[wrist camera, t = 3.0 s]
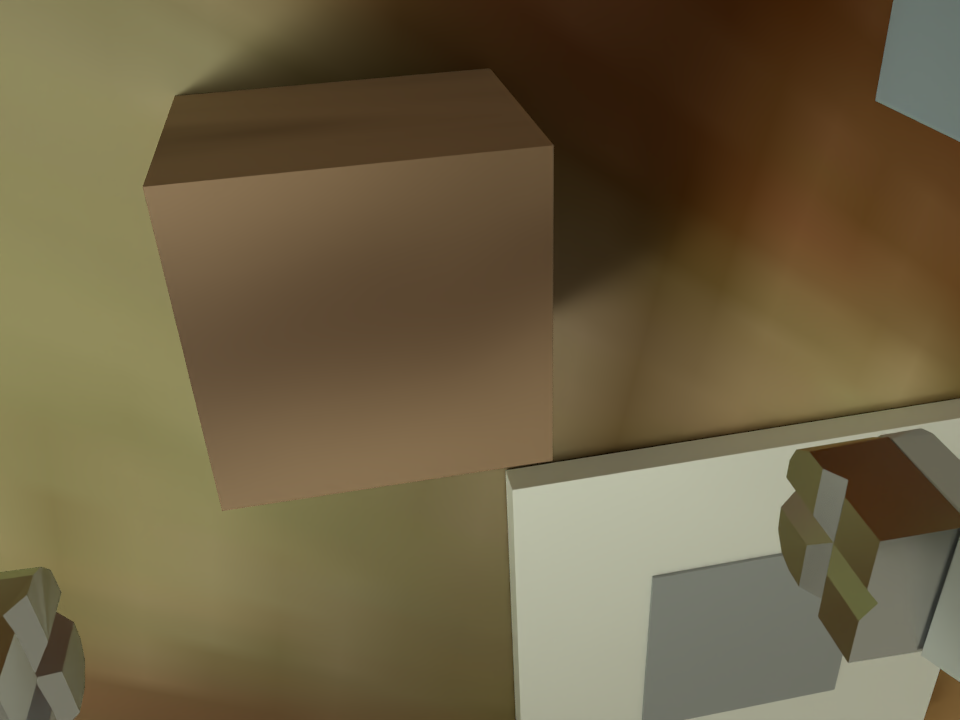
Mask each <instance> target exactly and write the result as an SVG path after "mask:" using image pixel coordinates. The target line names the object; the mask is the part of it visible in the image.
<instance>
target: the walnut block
mask: <svg viewBox="0 0 960 720" xmlns="http://www.w3.org/2000/svg"><path fill="white" fill-rule="evenodd" d="M143 190H144V194H145V198H146V202H147V206H148V210H149V215H150V219H151V223H152V227H153V231H154V235H155V239H156V243H157V247H158V251H159V255H160V259H161V263H162V268H163V272H164V276H165V280H166V284H167V288H168V292H169V296H170V300H171V304H172V308H173V312H174V316H175V321H176V325H177V329H178V333H179V337H180V341H181V345H182V349H183V353H184V357H185V361H186V365H187V369H188V374H189V378H190V382H191V386H192V390H193V394H194V398H195V402H196V406H197V410H198V414H199V418H200V422H201V426H202V431H203V435H204V439H205V443H206V447H207V451H208V455H209V459H210V463H211V467H212V471H213V475H214V479H215V484H216V488H217V492H218V496H219V500H220V504H221V508H222V511H224V510H231V509H238V508H244V507H251V506H257V505H264V504H271V503H277V502H284V501H290V500H297V499H304V498H310V497H317V496H323V495H330V494H337V493H343V492H350V491H356V490H363V489H370V488H376V487H383V486H389V485H396V484H403V483H409V482H416V481H422V480H429V479H436V478H442V477H449V476H455V475H462V474H469V473H475V472H482V471H488V470H495V469H501V468H508V467H515V466H521V465H528V464H534V463H541V462H548V461H553V211H554V145H553V144H552V143H551V141H550V140H549V139H548V138H547V137H546V135H545V134H544V133H543V132H542V131H541V129H540V128H539V127H538V126H537V124H536V123H535V122H534V121H533V120H532V118H531V117H530V116H529V115H528V114H527V112H526V111H525V110H524V109H523V108H522V106H521V105H520V104H519V103H518V102H517V100H516V99H515V98H514V97H513V96H512V94H511V93H510V92H509V91H508V89H507V88H506V87H505V86H504V85H503V83H502V82H501V81H500V80H499V79H498V77H497V76H496V75H495V74H494V73H493V71H492V70H491V69H490V68H486V69H475V70H464V71H452V72H441V73H430V74H418V75H407V76H396V77H384V78H373V79H361V80H350V81H339V82H327V83H316V84H305V85H293V86H282V87H271V88H259V89H248V90H237V91H225V92H214V93H203V94H191V95H180V96H175V97H174V100H173V103H172V106H171V108H170V111H169V114H168V117H167V120H166V123H165V125H164V128H163V131H162V134H161V137H160V140H159V142H158V145H157V148H156V151H155V154H154V157H153V159H152V162H151V165H150V168H149V171H148V174H147V176H146V179H145V182H144V185H143Z"/></svg>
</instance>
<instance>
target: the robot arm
mask: <svg viewBox="0 0 960 720" xmlns="http://www.w3.org/2000/svg"><path fill="white" fill-rule="evenodd" d="M786 478H787V479H788V481H789V482H790V483H791V485H792V486H793V488H794V489H795V490H796V491H795V492H794V493H793V494H792V495H791V496H790V497H789V499H788V500H787V501H786V502H785V503H784V504H783V505H782V506H781V510H780V518H779V525H778V533H779V539H780V545H781V552H782V555H783V557H784V560H785V562H786V565H787V567H788V570H789V571H790V573H791V575H792V576H793V578H794V579H795V581H796V583H797V584H798V586H799V587H801V588H803V589H804V590H806V591H808V592H810V593H811V594H813V595H815V596H817V597H818V598H820V599H821V603H820V608H819V613H818V617H819V619H820V620H821V622H822V623H823V625H824V627H825V628H826V630H827V631H828V633H829V634H830V636H831V637H832V639H833V640H834V642H835V644H836V645H837V647H838V648H839V650H840V651H841V653H842V654H843V656H844V657H845V659H846V660H847V662H848V663H852V662H858V661H865V660H871V659H877V658H883V657H890V656H896V655H902V654H909V653H915V652H921V651H922V653H921V656H922V657H924V658H925V659H927V660H928V661H930V662H931V663H933V664H934V665H936V666H937V667H939V668H940V669H941V670H943V671H944V672H946V673H947V674H949V675H950V676H952V677H953V678H955V679H956V680H957V681H959V682H960V460H959V459H958V458H957V457H956V456H955V455H954V454H953V453H952V452H951V451H950V450H949V449H948V448H947V447H946V446H945V445H944V444H943V443H942V442H941V441H940V440H939V439H938V438H937V437H936V436H935V435H934V434H933V433H931V432H929V431H926V430H924V429H922V428H919V429H913V430H907V431H901V432H896V433H890V434H884V435H880V436H878V437H870V438H864V439H858V440H852V441H846V442H839V443H833V444H827V445H821V446H815V447H809V448H803V449H797V450H796V451H795V452H794V454H793V455H792V457H791V459H790V461H789V466H788V471H787V476H786ZM60 596H61V591H60V588H59V586H58V584H57V582H56V580H55V578H54V576H53V574H52V572H51V570H49V569H46V568H43V567H35V568H28V569H20V570H13V571H5V572H0V720H73V719H74V718H75V717H76V716H77V715H78V714H79V712H80V708H81V703H82V698H83V693H84V688H85V658H84V653H83V648H82V644H81V639H80V636H79V634H78V631H77V629H76V626H75V624H74V622H73V621H71V620H69V619H67V618H66V617H64V616H62V615H60V614H59V613H57V612H56V611H57V607H58V603H59V599H60Z"/></svg>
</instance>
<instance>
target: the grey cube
mask: <svg viewBox="0 0 960 720" xmlns="http://www.w3.org/2000/svg"><path fill="white" fill-rule="evenodd" d="M875 101H877V102H879V103H881V104H883V105H885V106H887V107H889V108H891V109H893V110H896V111H898V112H900V113H902V114H904V115H906V116H908V117H910V118H912V119H914V120H916V121H918V122H920V123H922V124H924V125H926V126H928V127H931V128H933V129H935V130H937V131H939V132H941V133H943V134H945V135H947V136H949V137H951V138H953V139H955V140H957V141H959V142H960V0H893V5H892V11H891V16H890V22H889V27H888V33H887V38H886V44H885V49H884V55H883V60H882V66H881V71H880V77H879V82H878V88H877V93H876V99H875Z"/></svg>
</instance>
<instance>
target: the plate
mask: <svg viewBox="0 0 960 720" xmlns="http://www.w3.org/2000/svg"><path fill="white" fill-rule="evenodd" d="M919 428H922V429H924V430H926V431H929V432H931V433H933V434H934V435H935V436H936V437H937V438H938V439H939V440H940V441H941V442H942V443H943V444H944V445H945V446H946V447H947V448H948V449H949V450H950V451H951V452H952V453H953V454H954V455H955V456H956V457H957V458H958V459H959V460H960V399H954V400H947V401H941V402H935V403H928V404H922V405H916V406H909V407H903V408H897V409H890V410H884V411H878V412H871V413H865V414H859V415H852V416H846V417H840V418H833V419H827V420H821V421H814V422H808V423H802V424H795V425H789V426H783V427H776V428H770V429H764V430H757V431H751V432H745V433H738V434H732V435H726V436H719V437H713V438H707V439H700V440H694V441H688V442H681V443H675V444H669V445H662V446H656V447H650V448H643V449H637V450H631V451H624V452H618V453H612V454H605V455H599V456H593V457H586V458H580V459H574V460H567V461H561V462H555V463H548V464H542V465H536V466H529V467H523V468H517V469H510V470H506V493H507V518H508V542H509V567H510V592H511V616H512V641H513V665H514V690H515V714H516V720H924V717H925V714H926V711H927V708H928V704H929V701H930V698H931V695H932V692H933V689H934V686H935V683H936V680H937V677H938V674H939V671H940V668H939V667H937V666H936V665H934V664H933V663H931V662H930V661H928V660H927V659H925V658H924V657H922V656H921V653H922V651H921V652H915V653H909V654H902V655H896V656H890V657H883V658H877V659H871V660H865V661H858V662H852V663H848V662H847V660H846V659H845V657H844V656H843V654H842V653H841V651H840V650H839V648H838V647H837V645H836V644H835V642H834V640H833V639H832V637H831V636H830V634H829V633H828V631H827V630H826V628H825V627H824V625H823V623H822V622H821V620H820V619H819V617H818V613H819V608H820V603H821V599H820V598H818V597H817V596H815V595H813V594H811V593H810V592H808V591H806V590H804V589H803V588H801V587H799V586H798V584H797V583H796V581H795V579H794V578H793V576H792V575H791V573H790V571H789V570H788V567H787V565H786V562H785V560H784V557H783V555H782V552H781V545H780V539H779V533H778V525H779V518H780V510H781V506H782V505H783V504H784V503H785V502H786V501H787V500H788V499H789V497H790V496H791V495H792V494H793V493H794V492H795V491H796V490H795V489H794V488H793V486H792V485H791V483H790V482H789V481H788V479H787V478H786V476H787V471H788V466H789V461H790V459H791V457H792V455H793V454H794V452H795V451H796V450H797V449H803V448H809V447H815V446H821V445H827V444H833V443H839V442H846V441H852V440H858V439H864V438H870V437H878V436H880V435H884V434H890V433H896V432H901V431H907V430H913V429H919Z"/></svg>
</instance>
